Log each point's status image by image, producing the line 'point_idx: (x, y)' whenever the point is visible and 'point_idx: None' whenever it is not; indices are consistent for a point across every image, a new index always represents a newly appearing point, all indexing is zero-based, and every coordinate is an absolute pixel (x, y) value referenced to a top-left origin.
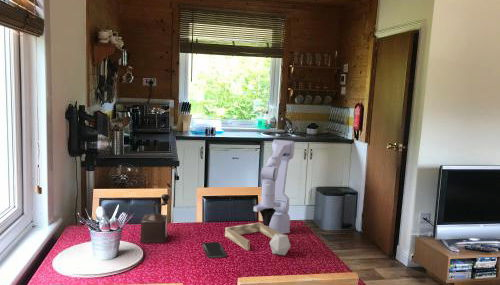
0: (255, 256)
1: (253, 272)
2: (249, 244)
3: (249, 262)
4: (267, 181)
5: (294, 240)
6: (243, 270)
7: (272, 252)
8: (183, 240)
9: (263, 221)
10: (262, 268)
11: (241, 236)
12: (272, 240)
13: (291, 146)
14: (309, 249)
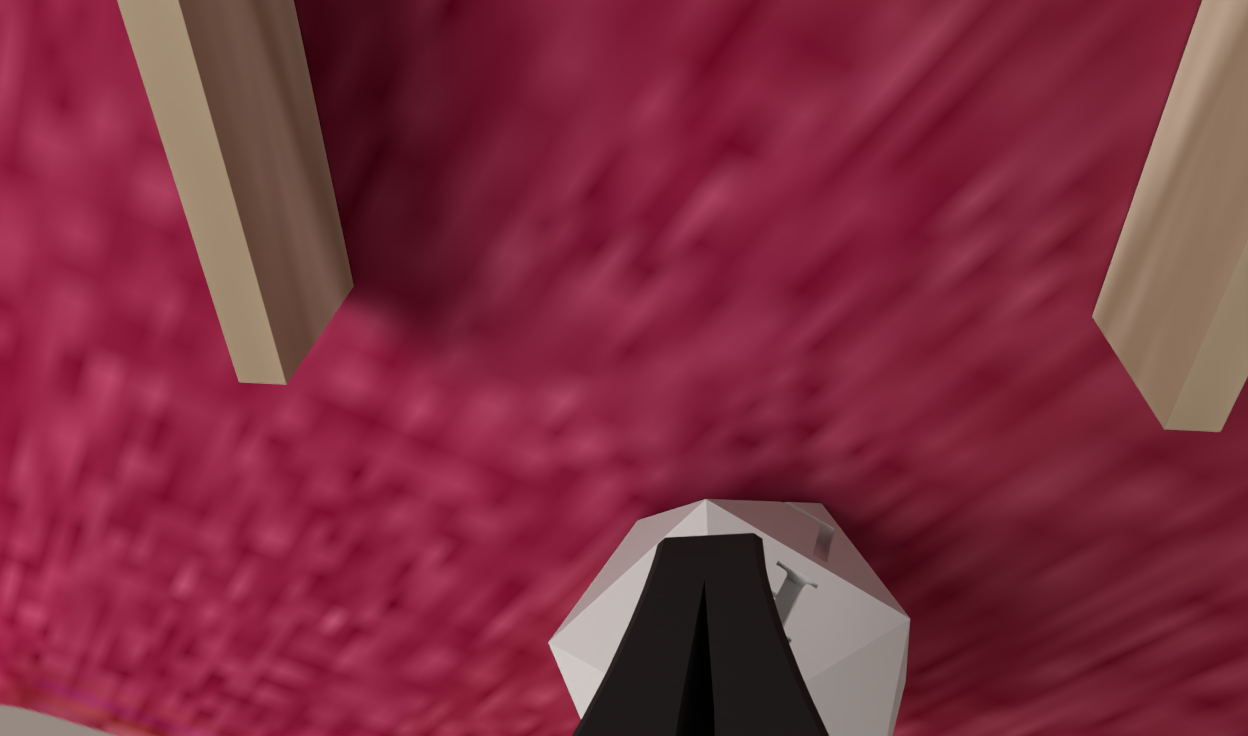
0: (352, 482)
1: (177, 710)
2: (306, 346)
3: (207, 564)
4: None
5: None
6: (86, 653)
7: (629, 533)
8: None
9: (634, 632)
10: (300, 698)
11: (178, 81)
12: (587, 703)
13: None
14: (1244, 633)
